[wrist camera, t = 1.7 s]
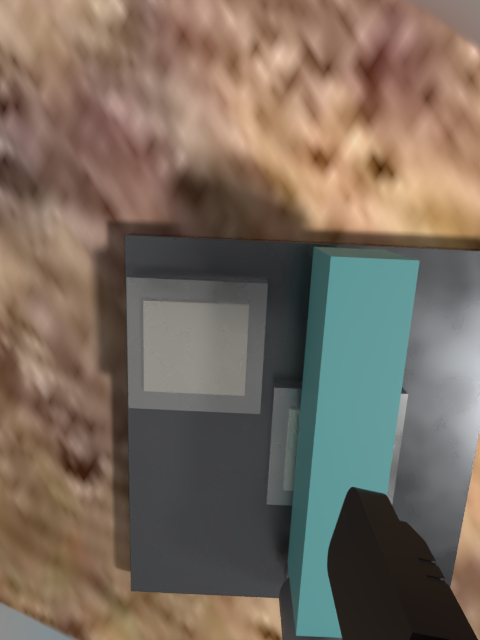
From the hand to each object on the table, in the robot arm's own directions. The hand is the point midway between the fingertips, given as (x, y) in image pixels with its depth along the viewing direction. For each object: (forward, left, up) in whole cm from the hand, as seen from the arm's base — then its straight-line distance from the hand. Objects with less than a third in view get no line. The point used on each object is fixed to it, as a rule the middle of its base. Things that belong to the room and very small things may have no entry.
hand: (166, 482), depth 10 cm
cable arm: (-5, -6, -11) cm, 13 cm away
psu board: (-6, -5, -14) cm, 15 cm away
